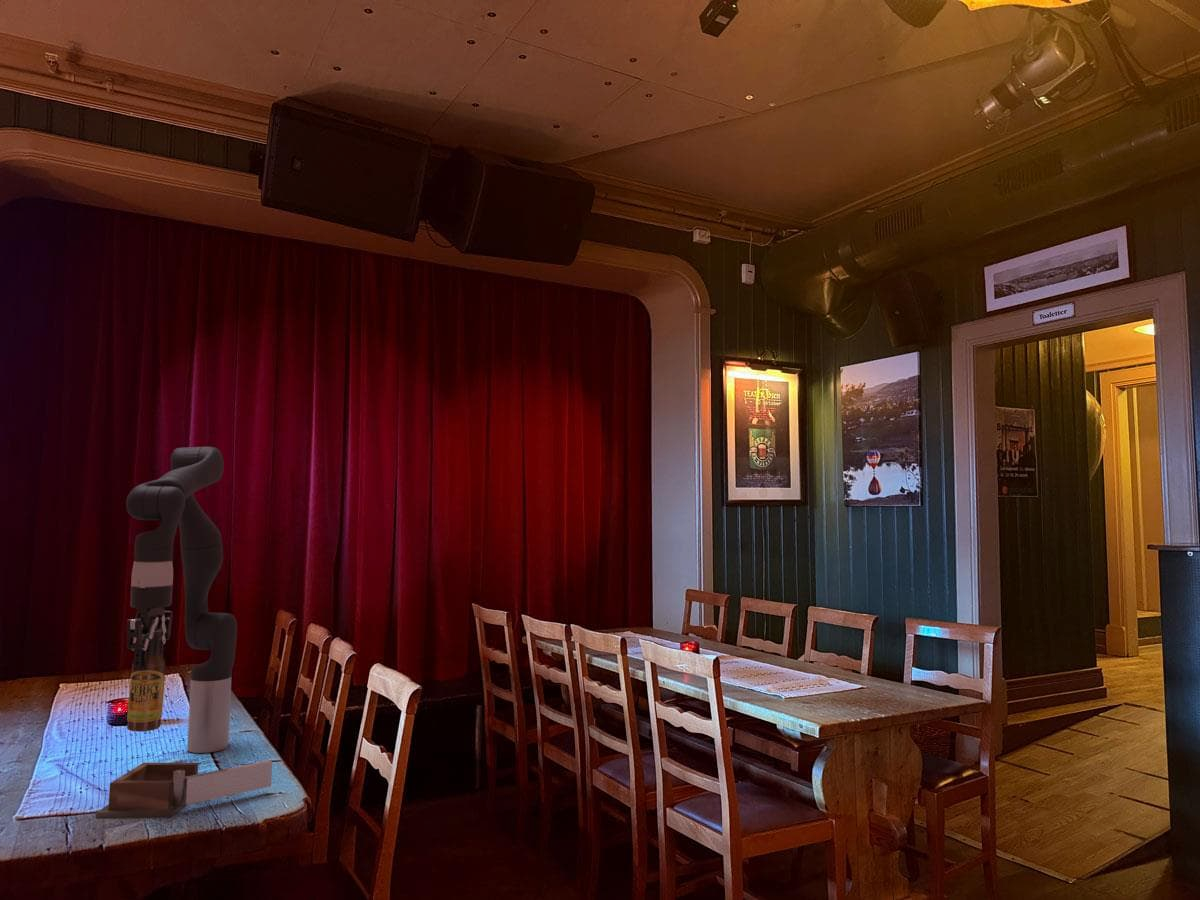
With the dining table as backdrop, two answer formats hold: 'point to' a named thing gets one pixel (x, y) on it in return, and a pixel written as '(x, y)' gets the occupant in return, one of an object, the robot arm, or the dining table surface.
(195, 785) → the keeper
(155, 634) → the sauce bottle
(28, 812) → the dining table surface
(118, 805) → the cradle
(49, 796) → the dining table surface
